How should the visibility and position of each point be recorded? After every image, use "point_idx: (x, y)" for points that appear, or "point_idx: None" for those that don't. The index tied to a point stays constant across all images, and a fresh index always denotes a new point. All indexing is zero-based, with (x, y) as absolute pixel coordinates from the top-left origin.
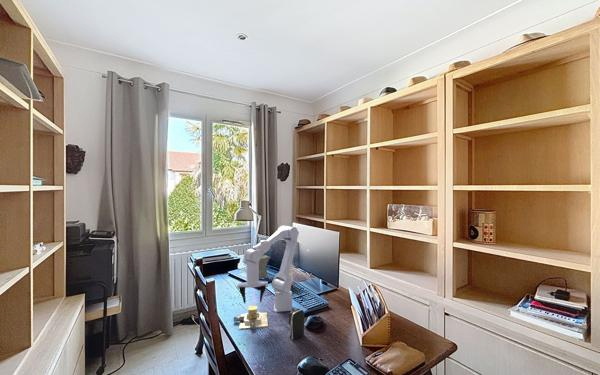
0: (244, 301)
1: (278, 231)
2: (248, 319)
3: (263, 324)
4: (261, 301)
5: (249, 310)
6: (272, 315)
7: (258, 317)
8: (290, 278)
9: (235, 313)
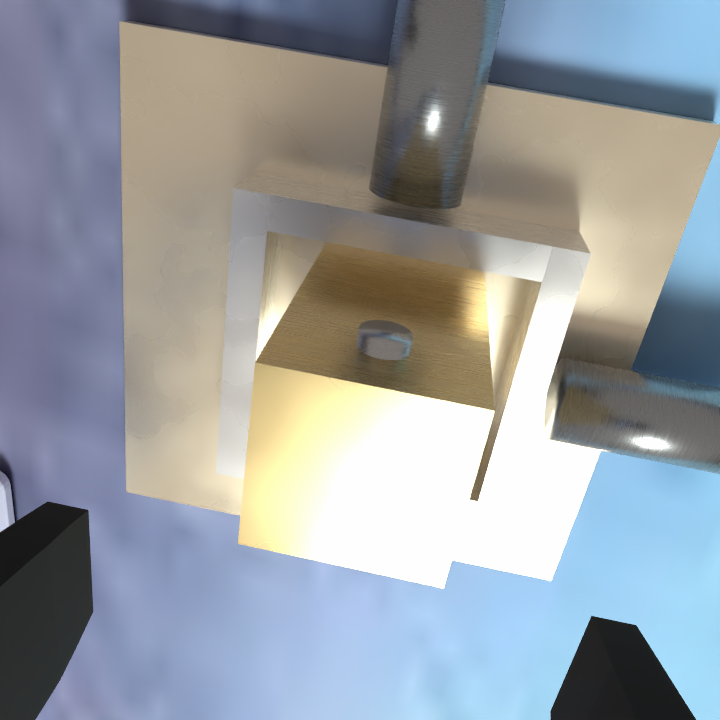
0: (646, 676)
1: None
2: (486, 306)
3: (204, 102)
4: (27, 516)
5: (464, 397)
6: (45, 393)
7: None
8: None
9: None
